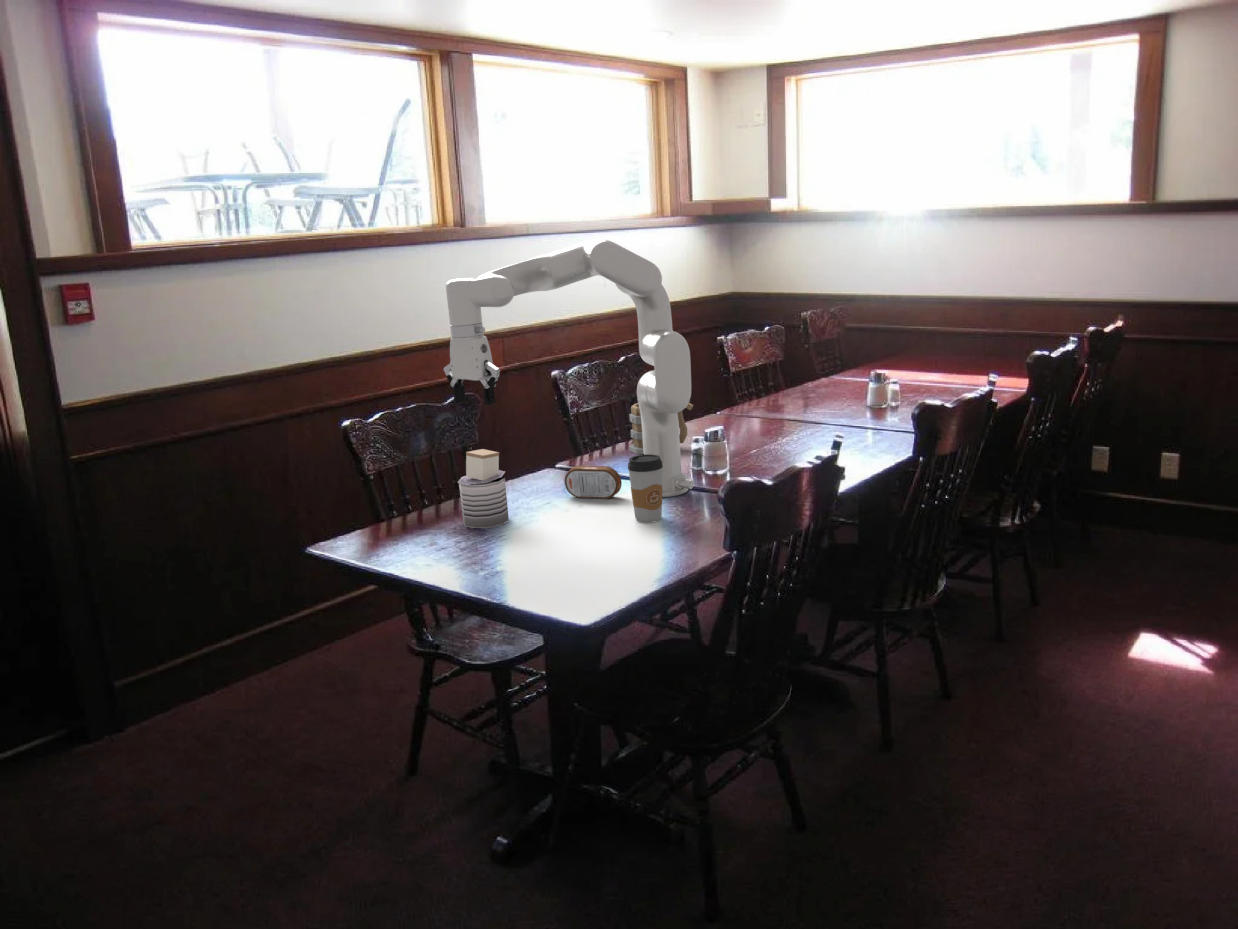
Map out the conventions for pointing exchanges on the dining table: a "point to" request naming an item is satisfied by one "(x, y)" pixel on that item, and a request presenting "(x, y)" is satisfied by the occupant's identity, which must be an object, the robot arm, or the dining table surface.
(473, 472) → the cream block
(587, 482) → the tin
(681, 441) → the tankard
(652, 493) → the coffee cup
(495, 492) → the can
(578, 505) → the dining table surface
